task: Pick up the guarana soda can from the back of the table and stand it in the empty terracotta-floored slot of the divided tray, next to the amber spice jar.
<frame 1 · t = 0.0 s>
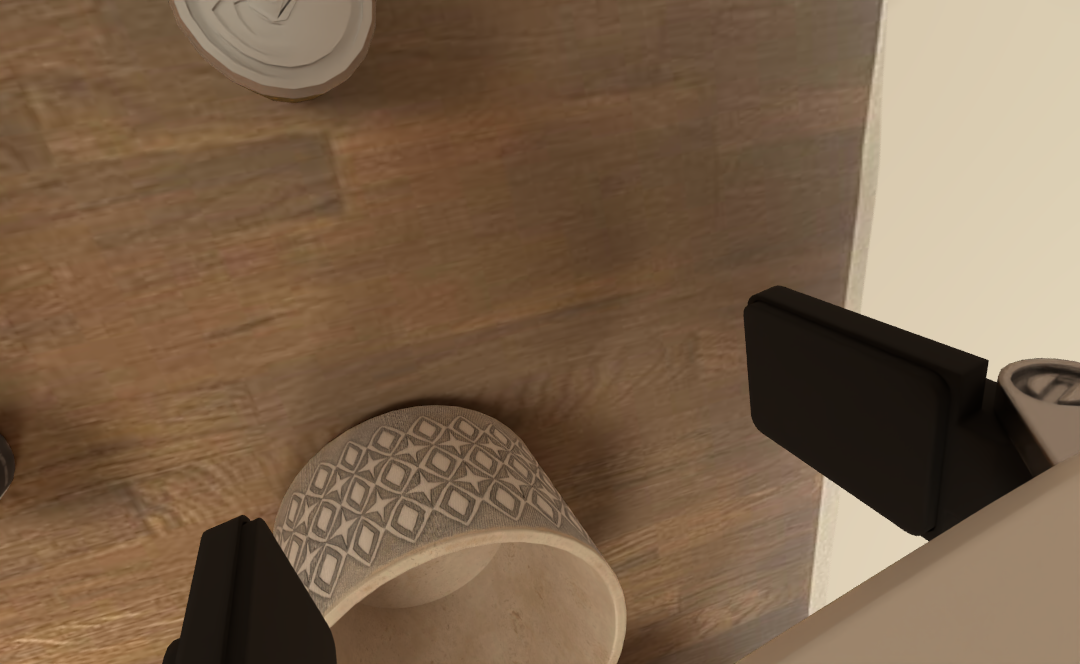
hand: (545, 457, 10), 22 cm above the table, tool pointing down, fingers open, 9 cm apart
planter: (414, 509, 36), on the table
guarana soda can: (282, 38, 25), on the table
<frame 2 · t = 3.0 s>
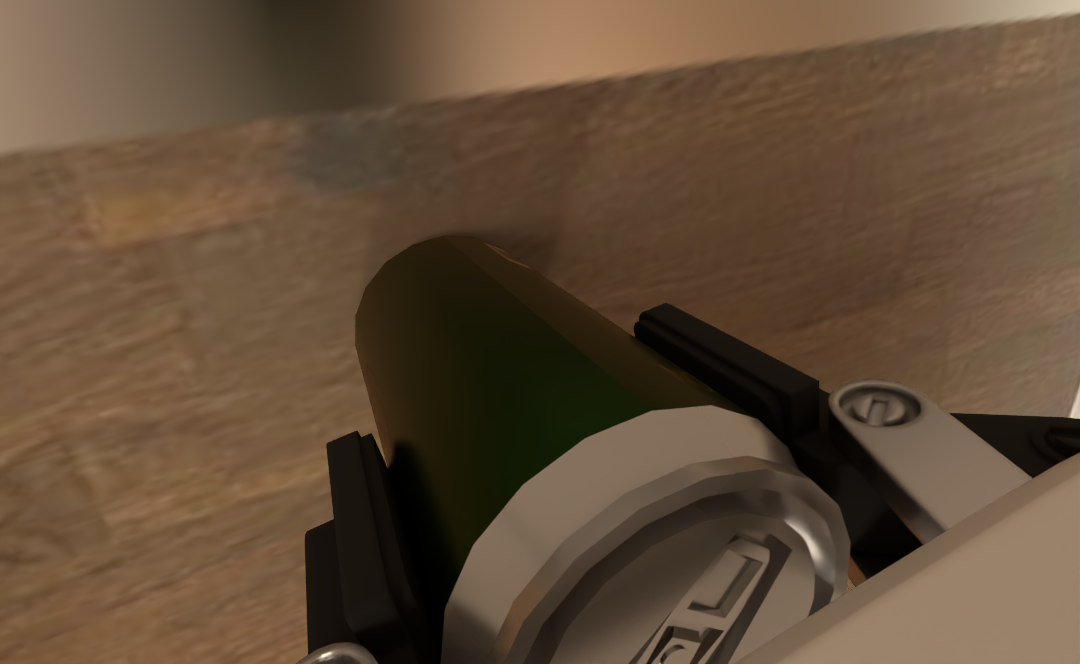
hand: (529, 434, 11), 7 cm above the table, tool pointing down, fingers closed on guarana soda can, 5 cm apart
guarana soda can: (444, 318, 17), on the table, touching gripper
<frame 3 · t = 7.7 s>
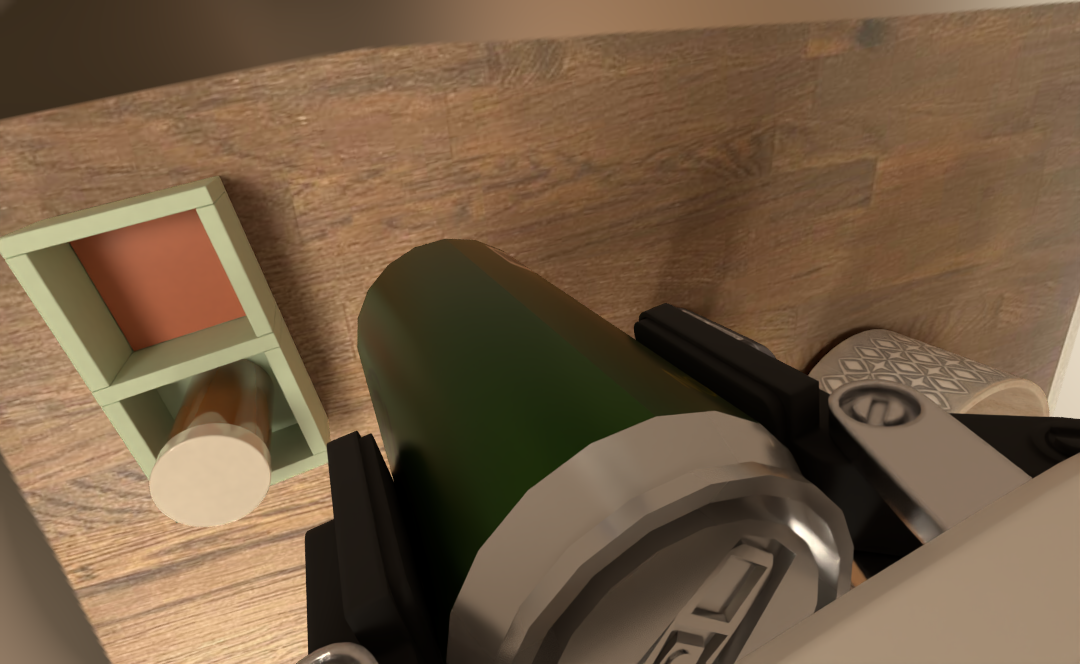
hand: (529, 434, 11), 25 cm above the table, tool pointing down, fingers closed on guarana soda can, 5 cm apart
planter: (838, 403, 55), on the table
divided tray: (204, 333, 31), on the table
spice jar: (232, 392, 32), point 1 cm above the table, touching divided tray
guarana soda can: (446, 320, 17), point 18 cm above the table, touching gripper
pill bottle: (667, 341, 44), on the table
when the fingers open (8 cm above the table, at t = 12.2 s): guarana soda can stays where it is, resting on divided tray.
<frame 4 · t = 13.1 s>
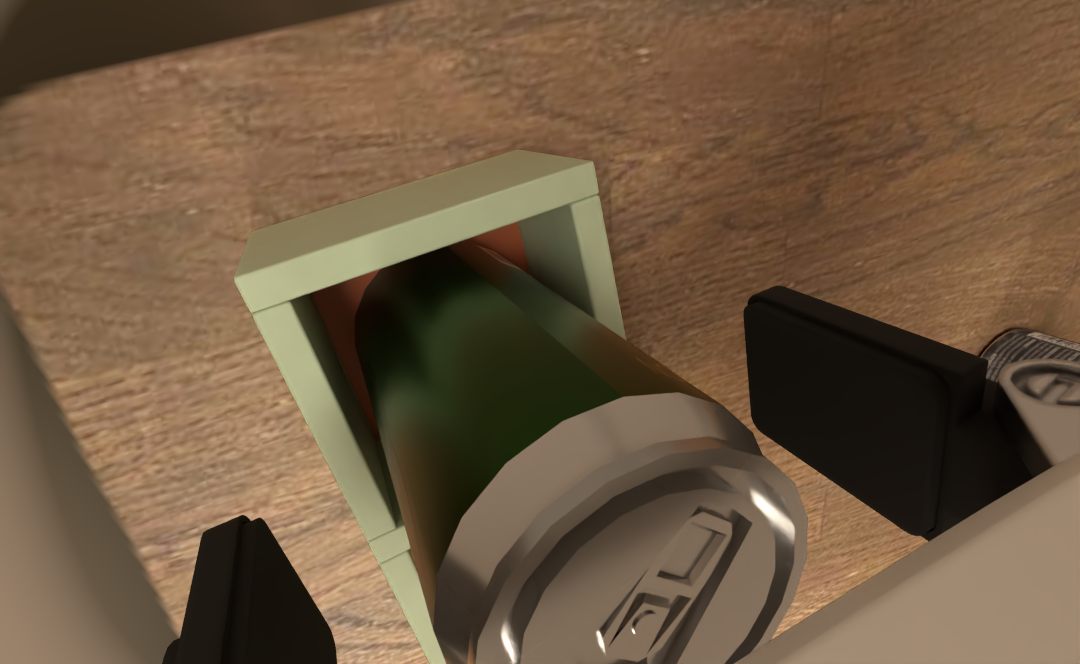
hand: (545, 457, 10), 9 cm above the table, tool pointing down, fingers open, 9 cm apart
divided tray: (467, 402, 20), on the table
guarana soda can: (440, 318, 18), point 1 cm above the table, touching divided tray
pill bottle: (992, 373, 33), on the table
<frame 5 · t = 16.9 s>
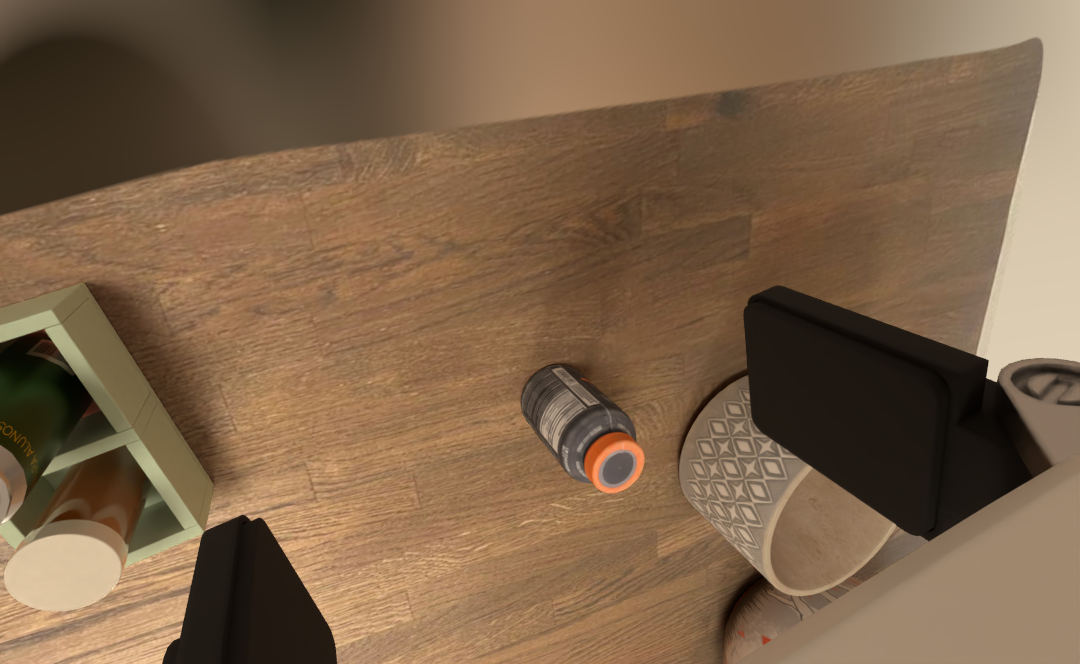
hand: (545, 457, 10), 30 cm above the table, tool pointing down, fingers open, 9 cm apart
planter: (737, 437, 58), on the table
divided tray: (84, 419, 34), on the table
vase: (759, 605, 70), on the table
spice jar: (115, 470, 35), point 1 cm above the table, touching divided tray
guarana soda can: (45, 374, 32), point 1 cm above the table, touching divided tray
pill bottle: (551, 394, 47), on the table
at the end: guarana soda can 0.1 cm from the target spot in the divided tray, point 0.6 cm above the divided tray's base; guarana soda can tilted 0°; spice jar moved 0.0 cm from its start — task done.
